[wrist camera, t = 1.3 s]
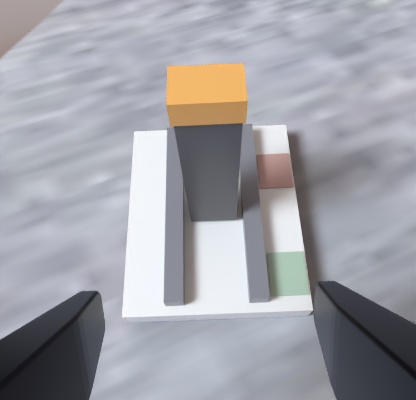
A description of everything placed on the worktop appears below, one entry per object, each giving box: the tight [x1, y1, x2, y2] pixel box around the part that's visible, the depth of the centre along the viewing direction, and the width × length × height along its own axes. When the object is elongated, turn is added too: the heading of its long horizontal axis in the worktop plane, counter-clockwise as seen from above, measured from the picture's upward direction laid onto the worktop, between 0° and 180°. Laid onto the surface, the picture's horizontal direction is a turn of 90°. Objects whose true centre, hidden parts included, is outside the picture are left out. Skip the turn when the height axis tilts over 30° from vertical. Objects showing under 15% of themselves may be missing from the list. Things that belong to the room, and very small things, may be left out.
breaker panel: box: [122, 124, 313, 323], centre depth 24 cm, size 12×10×2 cm
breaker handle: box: [166, 63, 248, 222], centre depth 19 cm, size 2×3×10 cm, turn 92°
